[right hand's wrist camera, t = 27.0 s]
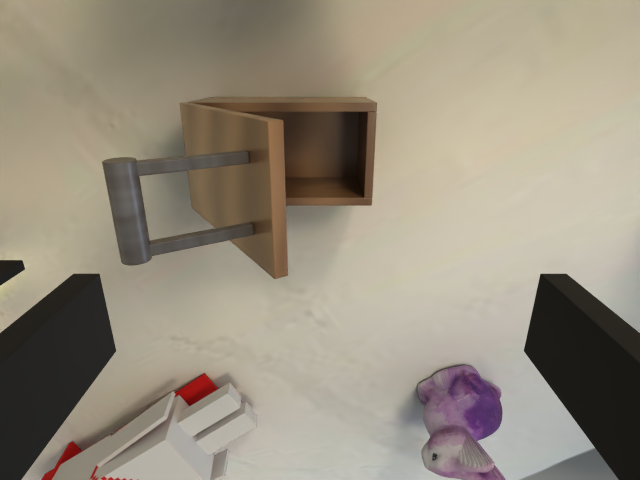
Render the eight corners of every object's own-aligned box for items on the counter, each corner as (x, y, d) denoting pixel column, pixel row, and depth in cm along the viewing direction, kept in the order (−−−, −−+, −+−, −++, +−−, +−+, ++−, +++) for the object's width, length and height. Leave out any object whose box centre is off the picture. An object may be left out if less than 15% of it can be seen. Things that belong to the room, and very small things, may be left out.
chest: (365, 97, 44) (376, 102, 35) (362, 182, 47) (372, 205, 39) (212, 97, 44) (187, 102, 35) (220, 182, 47) (198, 205, 39)
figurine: (399, 400, 58) (425, 502, 45) (446, 349, 55) (489, 442, 41) (452, 428, 60) (492, 535, 46) (500, 380, 57) (558, 479, 43)
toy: (268, 469, 50) (65, 587, 52) (268, 396, 63) (105, 493, 65) (208, 400, 46) (-9, 530, 48) (221, 338, 59) (49, 443, 61)
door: (283, 120, 22) (102, 131, 18) (288, 275, 25) (137, 316, 21) (190, 102, 35) (74, 106, 31) (202, 206, 39) (98, 222, 34)
